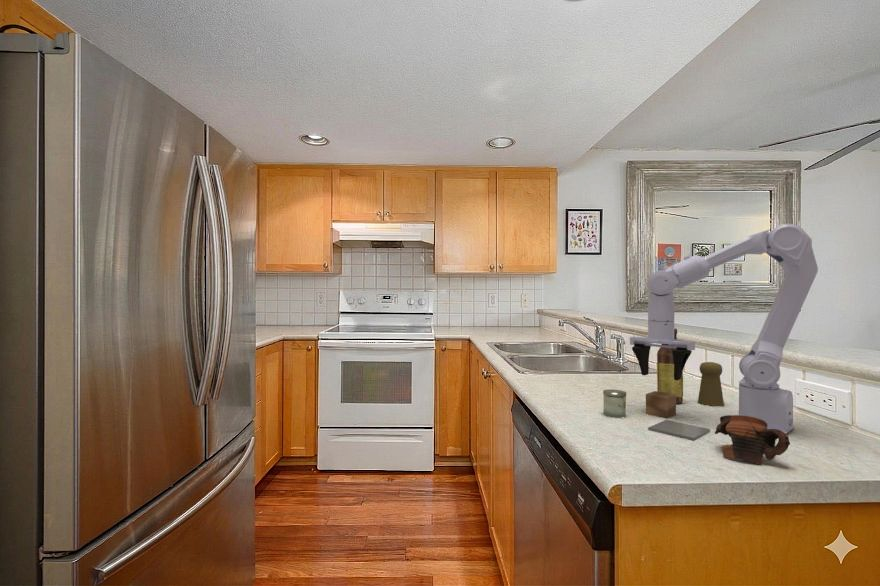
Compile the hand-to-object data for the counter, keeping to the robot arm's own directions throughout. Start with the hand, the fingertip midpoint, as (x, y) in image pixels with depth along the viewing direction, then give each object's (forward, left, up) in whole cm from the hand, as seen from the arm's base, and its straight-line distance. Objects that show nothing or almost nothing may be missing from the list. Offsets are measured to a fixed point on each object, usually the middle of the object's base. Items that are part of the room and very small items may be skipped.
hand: (660, 377), depth 106 cm
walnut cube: (0, 0, -9) cm, 9 cm away
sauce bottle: (+4, -15, -9) cm, 18 cm away
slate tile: (-8, +10, -9) cm, 16 cm away
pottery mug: (-22, +16, -9) cm, 29 cm away
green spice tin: (+7, +9, -9) cm, 15 cm away
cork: (-4, -21, -9) cm, 23 cm away
